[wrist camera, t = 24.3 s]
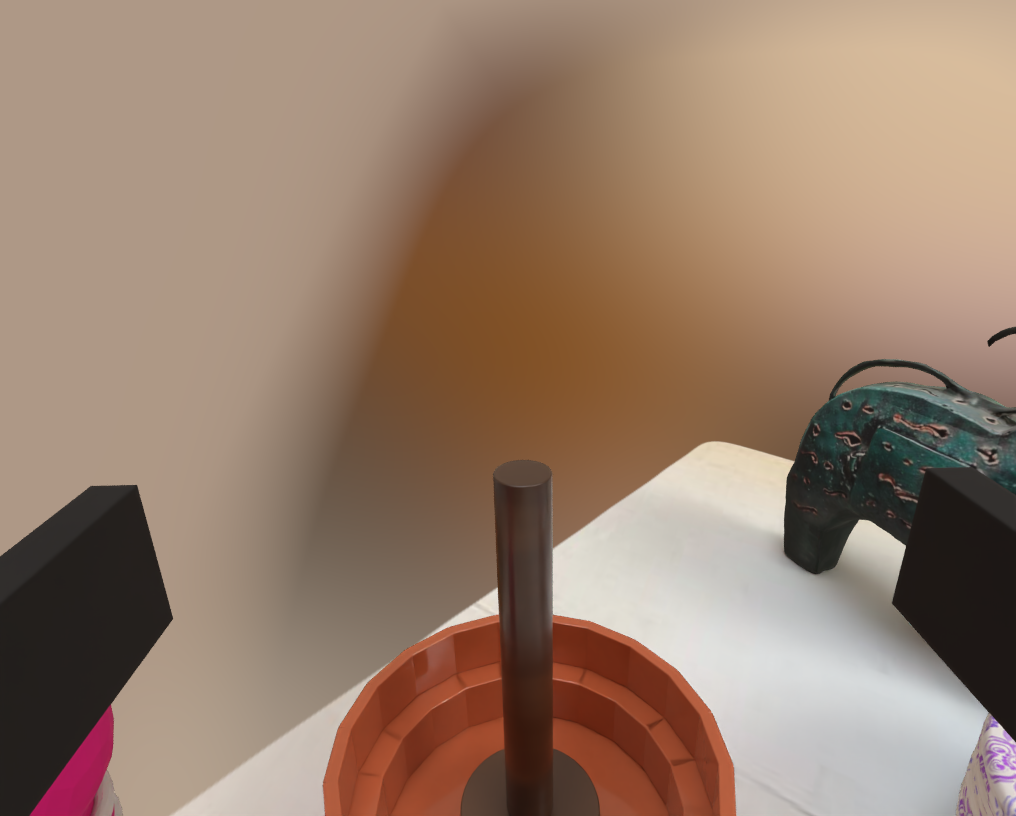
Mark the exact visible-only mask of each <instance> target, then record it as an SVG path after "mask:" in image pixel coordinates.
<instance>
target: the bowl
mask: <svg viewBox="0 0 1016 816" xmlns="http://www.w3.org/2000/svg"><path fill="white" fill-rule="evenodd" d="M553 748H554V749H556V750H559V751H561V752H563V753H565V754H566V755H568V756H570V757H571V758H572V759H574V760H575V761H576V762H577V763H578V764H579V765H580V766H581V767H582V768H583V769H584V770H585V771H586V773H587V774H588V776H589V777H590V779H591V780H592V782H593V785H594V787H595V789H596V792H597V795H598V799H599V805H600V816H736V798H735V777H734V766H733V763H732V760H731V758H730V755H729V753H728V750H727V748H726V745H725V743H724V741H723V738H722V736H721V733H720V731H719V728H718V726H717V723H716V721H715V718H714V716H713V713H711V710H710V709H709V708H708V707H707V706H706V704H705V703H704V702H703V701H702V699H701V698H700V697H699V696H698V694H697V693H696V692H695V691H694V690H693V688H692V687H691V686H690V685H689V683H688V682H687V681H686V680H685V678H684V677H683V676H682V675H681V674H680V672H679V671H677V669H675V668H674V667H673V666H671V665H670V664H668V663H667V662H666V661H664V660H663V659H662V658H660V657H659V656H657V655H656V654H655V653H653V652H652V651H651V650H649V649H648V648H646V647H645V646H644V645H642V644H641V643H639V642H638V641H636V640H635V639H632V638H630V637H627V636H625V635H622V634H620V633H618V632H615V631H613V630H610V629H608V628H606V627H603V626H601V625H598V624H596V623H593V622H590V621H586V620H580V619H574V618H569V617H563V616H557V615H553ZM502 749H504V725H503V700H502V676H501V651H500V627H499V615H494V616H490V617H486V618H482V619H478V620H474V621H470V622H467V623H463V624H459V625H455V626H451V627H449V628H446V629H444V630H442V631H440V632H438V633H436V634H434V635H432V636H431V637H429V638H427V639H425V640H423V641H421V642H419V643H417V644H415V645H413V646H411V647H409V648H407V649H406V650H404V651H403V652H402V653H401V654H400V655H399V656H397V657H396V658H395V659H394V660H393V661H392V662H391V663H389V664H388V665H387V666H386V667H385V668H384V669H383V670H381V671H380V672H379V673H378V674H377V675H376V676H375V677H373V678H372V679H371V680H370V681H369V682H368V684H366V686H365V687H364V689H363V690H362V692H361V693H360V695H359V697H358V698H357V700H356V701H355V703H354V704H353V706H352V707H351V709H350V710H349V712H348V713H347V715H346V717H345V718H344V720H343V721H342V723H341V724H340V726H339V728H338V730H337V734H336V737H335V741H334V744H333V748H332V752H331V755H330V759H329V763H328V766H327V770H326V774H325V777H324V781H323V796H324V809H325V816H461V814H460V812H461V800H462V795H463V792H464V788H465V786H466V784H467V782H468V780H469V778H470V776H471V775H472V773H473V772H474V771H475V769H476V768H477V767H478V766H479V765H480V764H481V763H482V762H483V761H484V760H485V759H487V758H488V757H489V756H491V755H492V754H494V753H496V752H498V751H500V750H502Z"/></svg>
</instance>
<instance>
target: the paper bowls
mask: <svg viewBox="0 0 1016 816" xmlns="http://www.w3.org/2000/svg"><path fill="white" fill-rule="evenodd" d="M956 816H1016V742H1015V741H1014V740H1013V739H1012V738H1011V737H1010V735H1009V734H1008V733H1007V732H1006V731H1005V730H1004V729H1003V728H1002V727H1001V725H1000V724H999V723H998V722H997V721H996V720H995V719H994V718H993V716H992V715H991V714H990V713H989V714H988V716H987V717H986V720H985V722H984V725H983V728H982V731H981V734H980V737H979V740H978V744H977V746H976V748H975V750H974V751H973V754H972V756H971V759H970V761H969V765H968V768H967V772H966V775H965V777H964V780H963V782H962V784H961V788H960V792H959V798H958V803H957V809H956Z"/></svg>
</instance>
